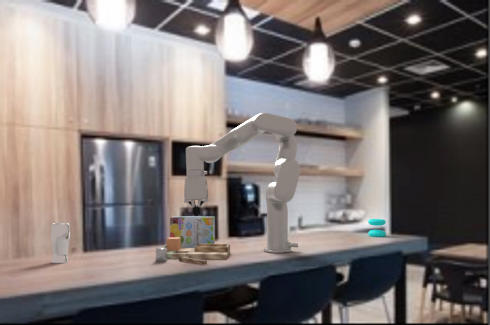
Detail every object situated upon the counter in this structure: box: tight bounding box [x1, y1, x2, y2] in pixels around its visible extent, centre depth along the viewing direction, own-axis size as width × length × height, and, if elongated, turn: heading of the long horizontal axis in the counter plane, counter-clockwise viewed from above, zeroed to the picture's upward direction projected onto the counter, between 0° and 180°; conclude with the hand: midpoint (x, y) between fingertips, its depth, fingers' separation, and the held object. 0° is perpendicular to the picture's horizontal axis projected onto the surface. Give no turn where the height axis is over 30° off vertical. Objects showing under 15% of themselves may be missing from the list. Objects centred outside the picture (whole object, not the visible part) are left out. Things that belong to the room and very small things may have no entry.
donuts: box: [367, 218, 387, 238], centre depth 248 cm, size 10×10×10 cm
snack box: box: [169, 215, 216, 248], centre depth 202 cm, size 21×6×15 cm, turn 84°
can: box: [155, 247, 168, 263], centre depth 166 cm, size 4×4×5 cm
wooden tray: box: [159, 243, 231, 260], centre depth 179 cm, size 28×16×4 cm, turn 86°
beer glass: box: [50, 222, 71, 265], centre depth 164 cm, size 7×7×15 cm
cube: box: [166, 236, 181, 251], centre depth 182 cm, size 5×5×5 cm
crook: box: [178, 256, 208, 266], centre depth 164 cm, size 14×5×2 cm, turn 51°
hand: (196, 216), depth 183 cm, fingers closed
